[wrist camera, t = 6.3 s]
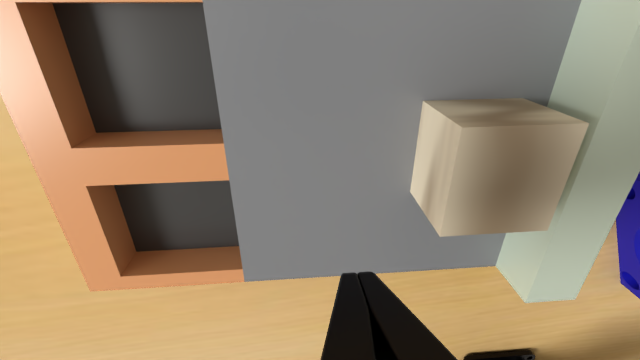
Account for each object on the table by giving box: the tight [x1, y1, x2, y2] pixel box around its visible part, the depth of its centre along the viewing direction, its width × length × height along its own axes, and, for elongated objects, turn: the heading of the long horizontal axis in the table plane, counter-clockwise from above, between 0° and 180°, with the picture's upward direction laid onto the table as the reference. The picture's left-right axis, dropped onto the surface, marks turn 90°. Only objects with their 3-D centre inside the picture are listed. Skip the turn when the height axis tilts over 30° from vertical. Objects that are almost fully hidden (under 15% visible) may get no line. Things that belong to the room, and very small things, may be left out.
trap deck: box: [0, 0, 640, 303], centre depth 16 cm, size 28×16×6 cm, turn 90°
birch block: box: [410, 98, 589, 237], centre depth 15 cm, size 5×5×4 cm
